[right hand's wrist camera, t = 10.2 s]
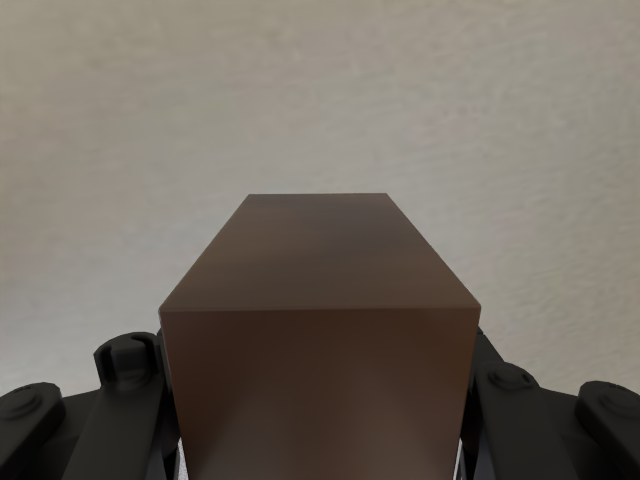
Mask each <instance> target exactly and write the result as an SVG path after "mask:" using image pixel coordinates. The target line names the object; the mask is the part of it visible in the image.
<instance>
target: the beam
mask: <svg viewBox="0 0 640 480" xmlns="http://www.w3.org/2000/svg"><path fill="white" fill-rule="evenodd" d="M480 312H481V305H480V304H479V302H478V301H477V300H476V299H475V298H474V296H473V295H472V294H471V293H470V292H469V291H468V289H467V288H466V287H465V286H464V285H463V283H462V282H461V281H460V280H459V279H458V278H457V276H456V275H455V274H454V273H453V272H452V270H451V269H450V268H449V267H448V266H447V265H446V263H445V262H444V261H443V260H442V259H441V257H440V256H439V255H438V254H437V253H436V251H435V250H434V249H433V248H432V247H431V246H430V244H429V243H428V242H427V241H426V240H425V238H424V237H423V236H422V235H421V234H420V233H419V231H418V230H417V229H416V228H415V227H414V225H413V224H412V223H411V222H410V221H409V219H408V218H407V217H406V216H405V215H404V214H403V212H402V211H401V210H400V209H399V208H398V206H397V205H396V204H395V203H394V202H393V201H392V199H391V198H390V197H389V196H388V195H387V194H386V193H352V194H249V195H248V196H247V197H246V199H245V200H244V201H243V202H242V204H241V205H240V206H239V208H238V209H237V210H236V211H235V213H234V214H233V215H232V216H231V218H230V219H229V220H228V221H227V223H226V224H225V225H224V227H223V228H222V229H221V230H220V232H219V233H218V234H217V235H216V237H215V238H214V239H213V240H212V242H211V243H210V244H209V246H208V247H207V248H206V249H205V251H204V252H203V253H202V254H201V256H200V257H199V258H198V259H197V261H196V262H195V263H194V265H193V266H192V267H191V268H190V270H189V271H188V272H187V273H186V275H185V276H184V277H183V278H182V280H181V281H180V282H179V284H178V285H177V286H176V287H175V289H174V290H173V291H172V292H171V294H170V295H169V296H168V297H167V299H166V300H165V301H164V303H163V304H162V305H161V306H160V308H159V310H158V313H159V319H160V324H161V330H162V335H163V341H164V346H165V352H166V357H167V363H168V368H169V374H170V379H171V385H172V390H173V396H174V402H175V407H176V413H177V418H178V424H179V429H180V435H181V440H182V446H183V451H184V457H185V462H186V468H187V473H188V479H189V480H453V476H454V470H455V464H456V458H457V452H458V446H459V440H460V434H461V427H462V421H463V415H464V409H465V403H466V397H467V391H468V385H469V379H470V373H471V367H472V361H473V355H474V349H475V342H476V336H477V330H478V324H479V318H480Z"/></svg>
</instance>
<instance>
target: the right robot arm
mask: <svg viewBox="0 0 640 480" xmlns="http://www.w3.org/2000/svg"><path fill="white" fill-rule="evenodd" d="M93 355H94V359H95V363H96V367H97V371H98V374H99V378H100V382H101V387H100V389H98V390H94V391H91V392H86V393H82V394H77V395H73V396H68V397H64V398H62V395H61V392H60V388H59V387H57V386H56V385H55V384H53V383H46V382H42V383H35V384H29V385H26V386H22V387H20V388H17V389H15V390H13V391H11V392H9V393H7V394H5V395H3V396H1V397H0V480H178V475H179V466H180V453H179V447H178V442H179V439H180V437H181V435H180V429H179V424H178V418H177V413H176V407H175V402H174V396H173V390H172V385H171V379H170V374H169V368H168V363H167V357H166V352H165V346H164V341H163V335H162V330H161V328H160V330H159V331H158V333H157V336H156V335H154V334H152V333H148V332H132V333H128V334H123V335H120V336H118V337H115V338H113V339H111V340H109V341H107V342H106V343H104V344H103V345H101V346H100V347H99V348H98V349H97V350H96V351H95V353H94V354H93ZM460 438H461V441H462V447H461V452H460V458H459V464H458V469H457V475H456V480H461V477H462V480H640V395H638V394H636V393H635V392H633V391H631V390H629V389H627V388H625V387H622V386H620V385H616V384H613V383H610V382H603V381H590V382H586V383H584V384H583V385H582V386H581V387H580V390H579V394H578V396H574V395H570V394H565V393H561V392H556V391H551V390H547V389H544V388H540V386H539V384H538V383H537V381H536V380H535V379H534V377H533V376H532V375H530V374H529V373H528V372H527V371H525V370H524V369H522V368H520V367H518V366H516V365H514V364H511V363H507V362H504V360H503V359H502V358H501V356H500V355H499V354H498V352H497V351H496V349H495V348H494V347H493V345H492V344H491V343H490V341H489V340H488V338H487V337H486V336H485V335H483V331H482V330H481V329H480V327H479V326H478V330H477V336H476V342H475V349H474V355H473V361H472V367H471V373H470V379H469V385H468V391H467V397H466V403H465V409H464V415H463V421H462V427H461V434H460Z"/></svg>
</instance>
